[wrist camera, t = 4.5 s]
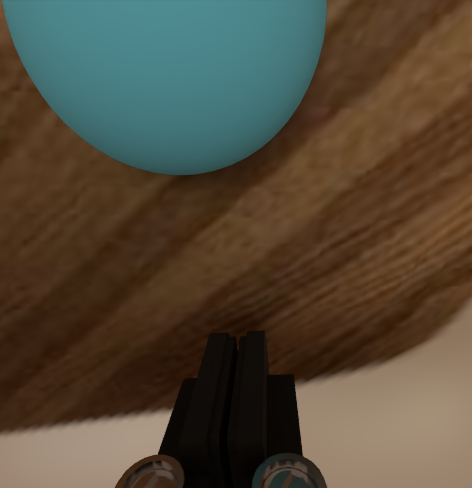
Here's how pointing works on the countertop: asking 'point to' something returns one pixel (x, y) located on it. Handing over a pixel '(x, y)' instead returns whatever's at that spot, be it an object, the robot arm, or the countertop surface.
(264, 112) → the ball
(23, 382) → the countertop surface
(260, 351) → the robot arm
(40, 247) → the countertop surface
